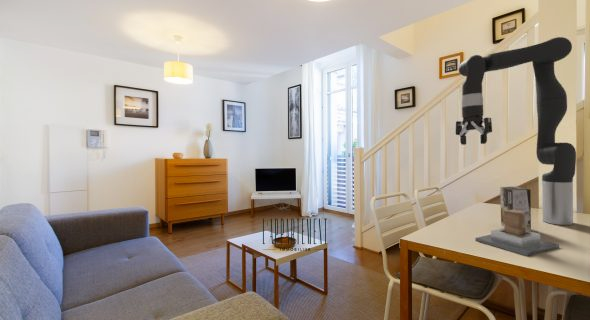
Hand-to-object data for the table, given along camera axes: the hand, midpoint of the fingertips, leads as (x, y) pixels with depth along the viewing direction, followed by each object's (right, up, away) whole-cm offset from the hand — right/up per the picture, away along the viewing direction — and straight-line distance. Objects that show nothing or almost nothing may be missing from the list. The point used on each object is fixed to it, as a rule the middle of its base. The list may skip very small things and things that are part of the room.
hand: (473, 144), depth 116 cm
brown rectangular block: (-1, -34, -23) cm, 41 cm away
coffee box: (+13, -34, -6) cm, 37 cm away
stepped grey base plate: (-1, -35, -23) cm, 42 cm away
